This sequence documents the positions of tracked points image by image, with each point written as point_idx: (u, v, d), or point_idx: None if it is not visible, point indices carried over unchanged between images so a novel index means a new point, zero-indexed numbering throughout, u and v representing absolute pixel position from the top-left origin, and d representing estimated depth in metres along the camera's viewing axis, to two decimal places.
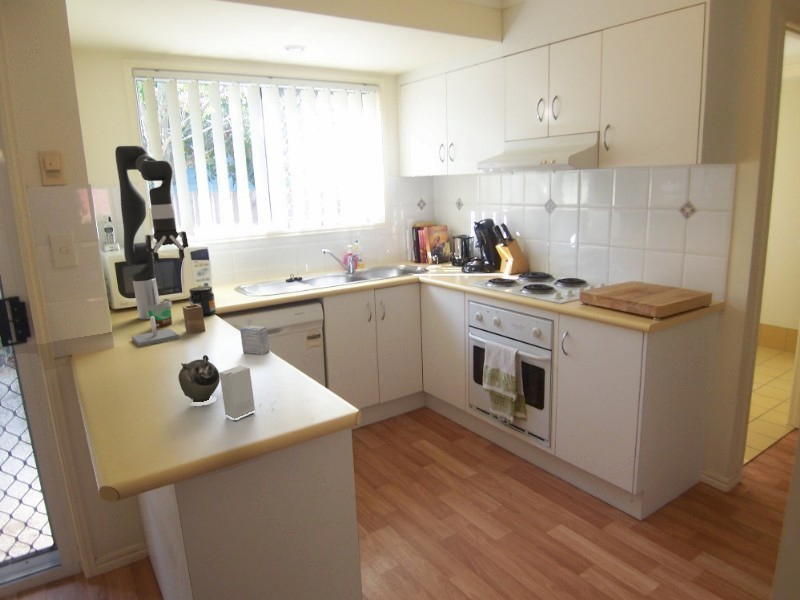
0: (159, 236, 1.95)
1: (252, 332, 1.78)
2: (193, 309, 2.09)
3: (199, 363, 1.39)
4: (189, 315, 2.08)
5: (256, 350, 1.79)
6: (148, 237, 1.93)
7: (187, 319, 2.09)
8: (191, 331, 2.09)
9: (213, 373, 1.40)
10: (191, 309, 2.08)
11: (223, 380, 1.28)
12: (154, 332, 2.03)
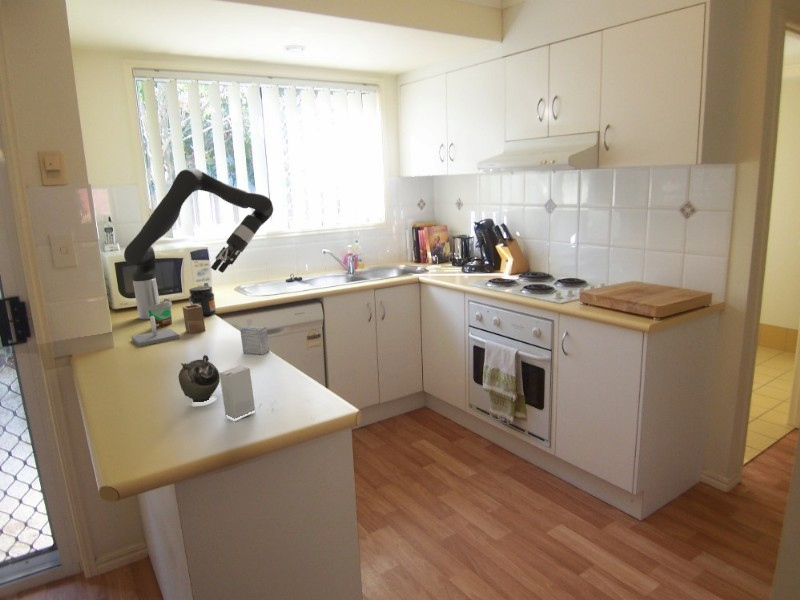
0: None
1: (252, 332, 1.78)
2: (193, 309, 2.09)
3: (199, 363, 1.39)
4: (189, 315, 2.08)
5: (256, 350, 1.79)
6: None
7: (187, 319, 2.09)
8: (191, 331, 2.09)
9: (213, 373, 1.40)
10: (191, 309, 2.08)
11: (223, 380, 1.28)
12: (154, 332, 2.03)
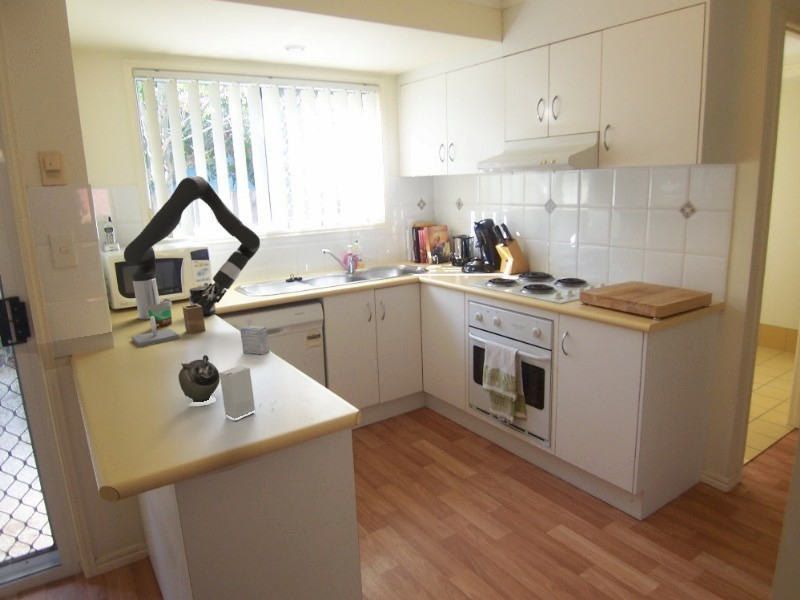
0: None
1: (252, 332, 1.78)
2: (193, 309, 2.09)
3: (199, 363, 1.39)
4: (189, 315, 2.08)
5: (256, 350, 1.79)
6: None
7: (187, 319, 2.09)
8: (191, 331, 2.09)
9: (213, 373, 1.40)
10: (191, 309, 2.08)
11: (223, 380, 1.28)
12: (154, 332, 2.03)
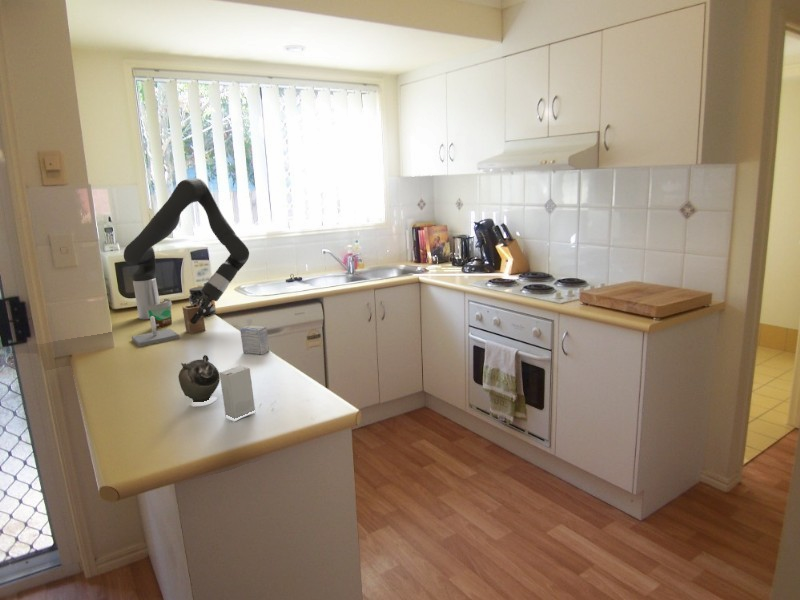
0: None
1: (252, 332, 1.78)
2: (193, 309, 2.09)
3: (199, 363, 1.39)
4: (189, 315, 2.08)
5: (256, 350, 1.79)
6: None
7: (187, 319, 2.09)
8: (191, 331, 2.09)
9: (213, 373, 1.40)
10: (191, 309, 2.08)
11: (223, 380, 1.28)
12: (154, 332, 2.03)
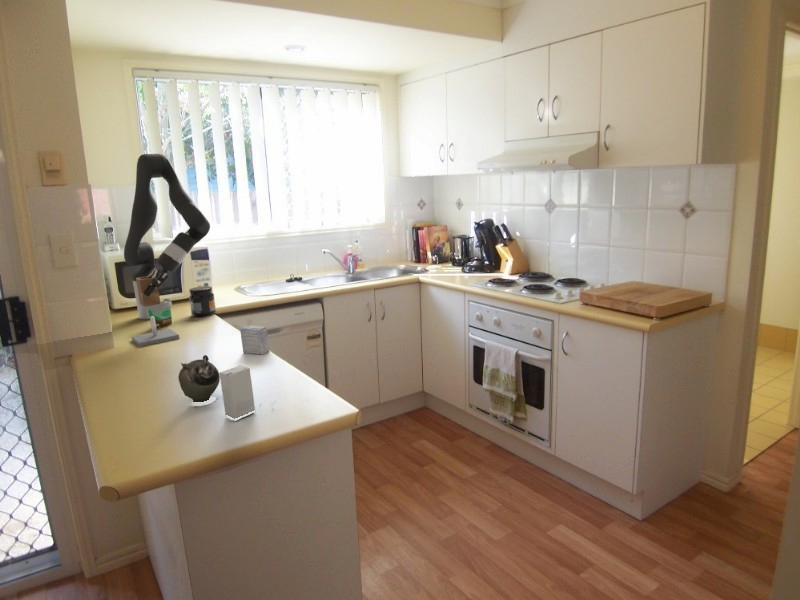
0: None
1: (252, 332, 1.78)
2: (146, 280, 1.97)
3: (199, 363, 1.39)
4: (142, 286, 1.96)
5: (256, 350, 1.79)
6: None
7: (140, 290, 1.97)
8: (145, 304, 1.98)
9: (213, 373, 1.40)
10: (145, 280, 1.96)
11: (223, 380, 1.28)
12: (154, 332, 2.03)
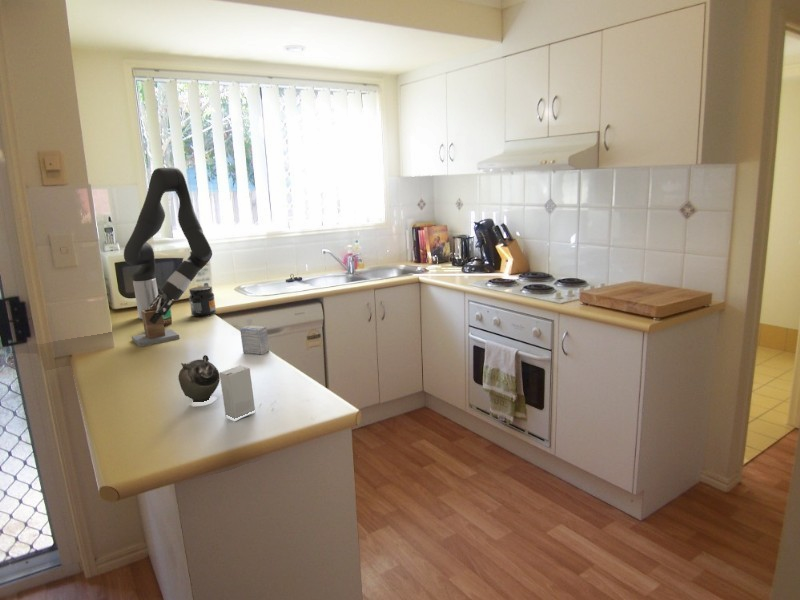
0: None
1: (252, 332, 1.78)
2: (152, 313, 2.00)
3: (199, 363, 1.39)
4: (147, 319, 1.99)
5: (256, 350, 1.79)
6: None
7: (145, 323, 2.00)
8: (150, 336, 2.00)
9: (213, 373, 1.40)
10: (150, 312, 1.99)
11: (223, 380, 1.28)
12: None
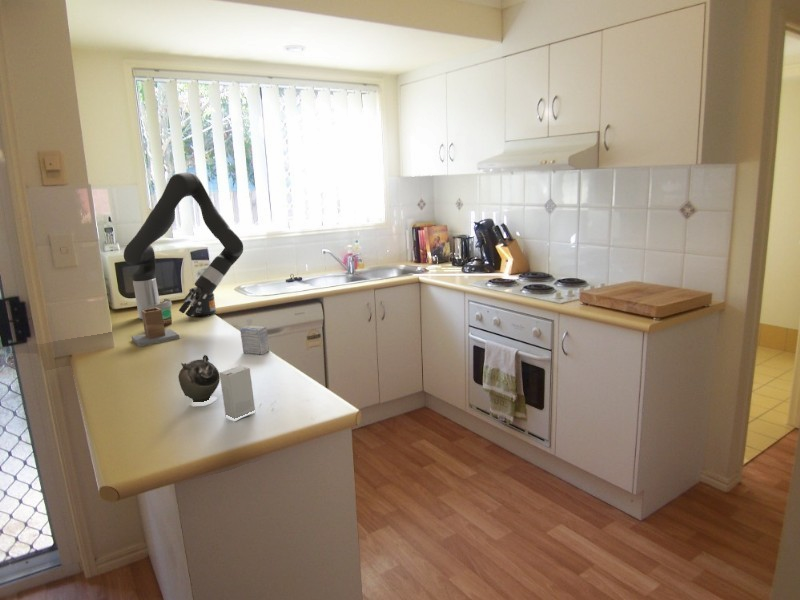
0: None
1: (252, 332, 1.78)
2: (152, 313, 2.00)
3: (199, 363, 1.39)
4: (147, 319, 1.99)
5: (256, 350, 1.79)
6: (207, 297, 2.08)
7: (145, 323, 2.00)
8: (150, 336, 2.00)
9: (213, 373, 1.40)
10: (150, 312, 1.99)
11: (223, 380, 1.28)
12: None
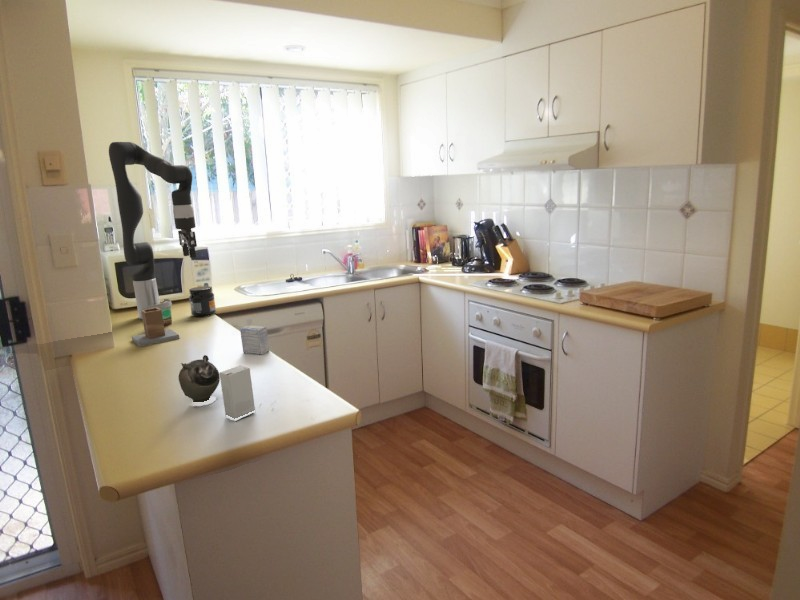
0: None
1: (252, 332, 1.78)
2: (152, 313, 2.00)
3: (199, 363, 1.39)
4: (147, 319, 1.99)
5: (256, 350, 1.79)
6: (194, 233, 2.12)
7: (145, 323, 2.00)
8: (150, 336, 2.00)
9: (213, 373, 1.40)
10: (150, 312, 1.99)
11: (223, 380, 1.28)
12: None
